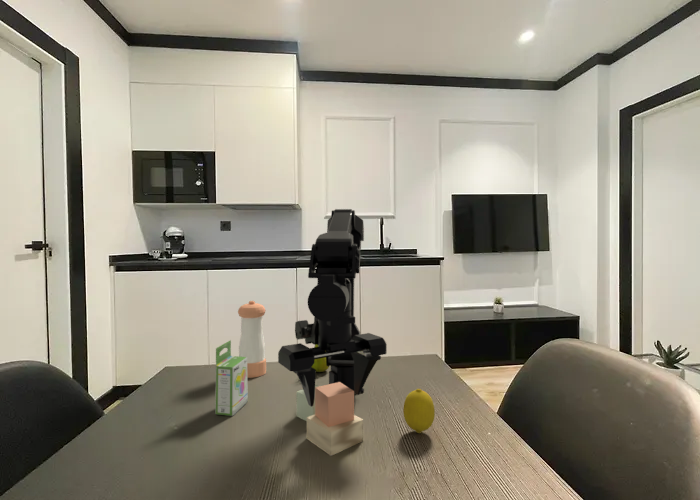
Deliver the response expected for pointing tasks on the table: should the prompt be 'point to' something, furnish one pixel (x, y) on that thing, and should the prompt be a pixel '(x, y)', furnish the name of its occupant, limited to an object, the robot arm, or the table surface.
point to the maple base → (334, 434)
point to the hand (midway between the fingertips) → (334, 399)
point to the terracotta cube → (334, 404)
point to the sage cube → (304, 406)
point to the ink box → (230, 381)
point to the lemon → (419, 410)
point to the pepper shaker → (252, 338)
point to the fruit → (320, 364)
